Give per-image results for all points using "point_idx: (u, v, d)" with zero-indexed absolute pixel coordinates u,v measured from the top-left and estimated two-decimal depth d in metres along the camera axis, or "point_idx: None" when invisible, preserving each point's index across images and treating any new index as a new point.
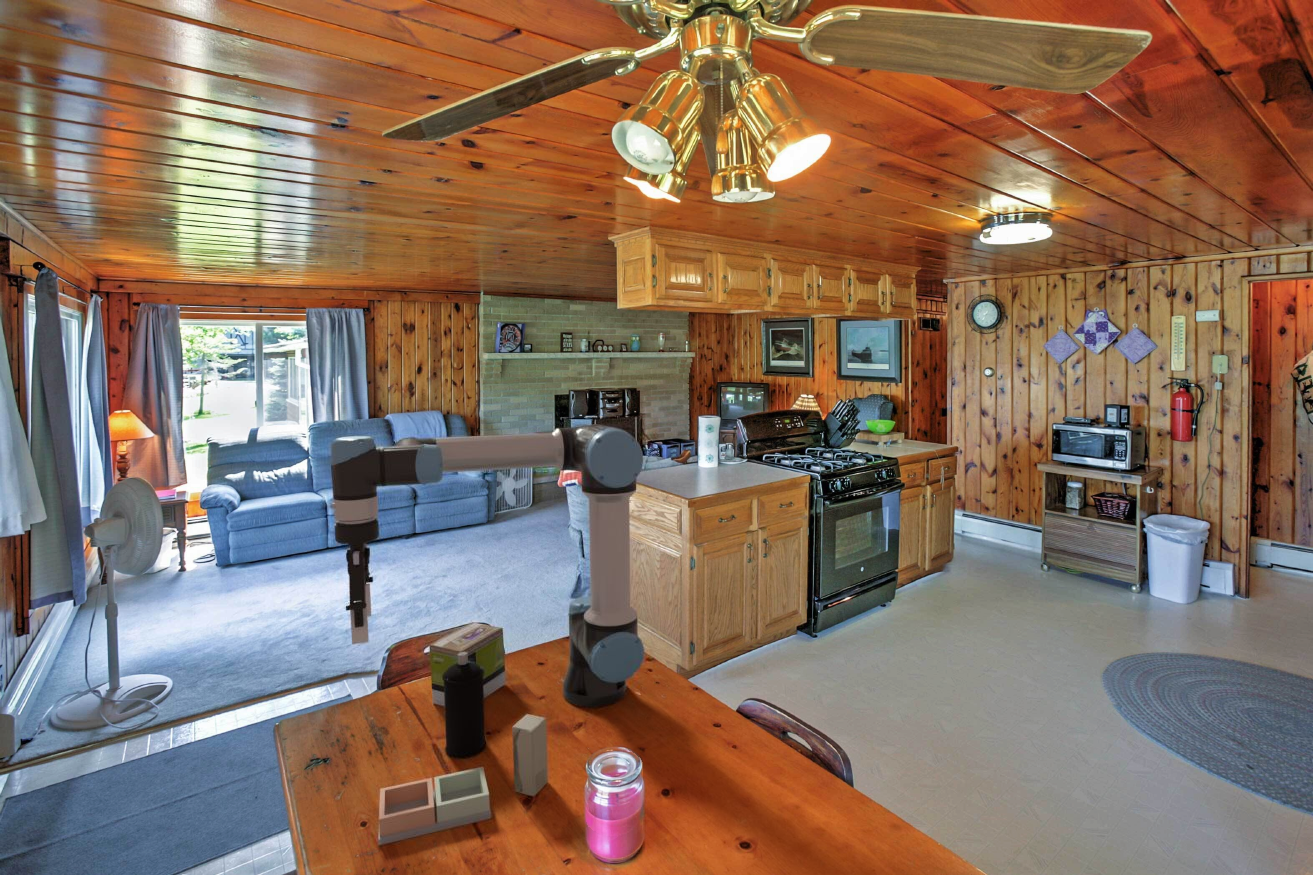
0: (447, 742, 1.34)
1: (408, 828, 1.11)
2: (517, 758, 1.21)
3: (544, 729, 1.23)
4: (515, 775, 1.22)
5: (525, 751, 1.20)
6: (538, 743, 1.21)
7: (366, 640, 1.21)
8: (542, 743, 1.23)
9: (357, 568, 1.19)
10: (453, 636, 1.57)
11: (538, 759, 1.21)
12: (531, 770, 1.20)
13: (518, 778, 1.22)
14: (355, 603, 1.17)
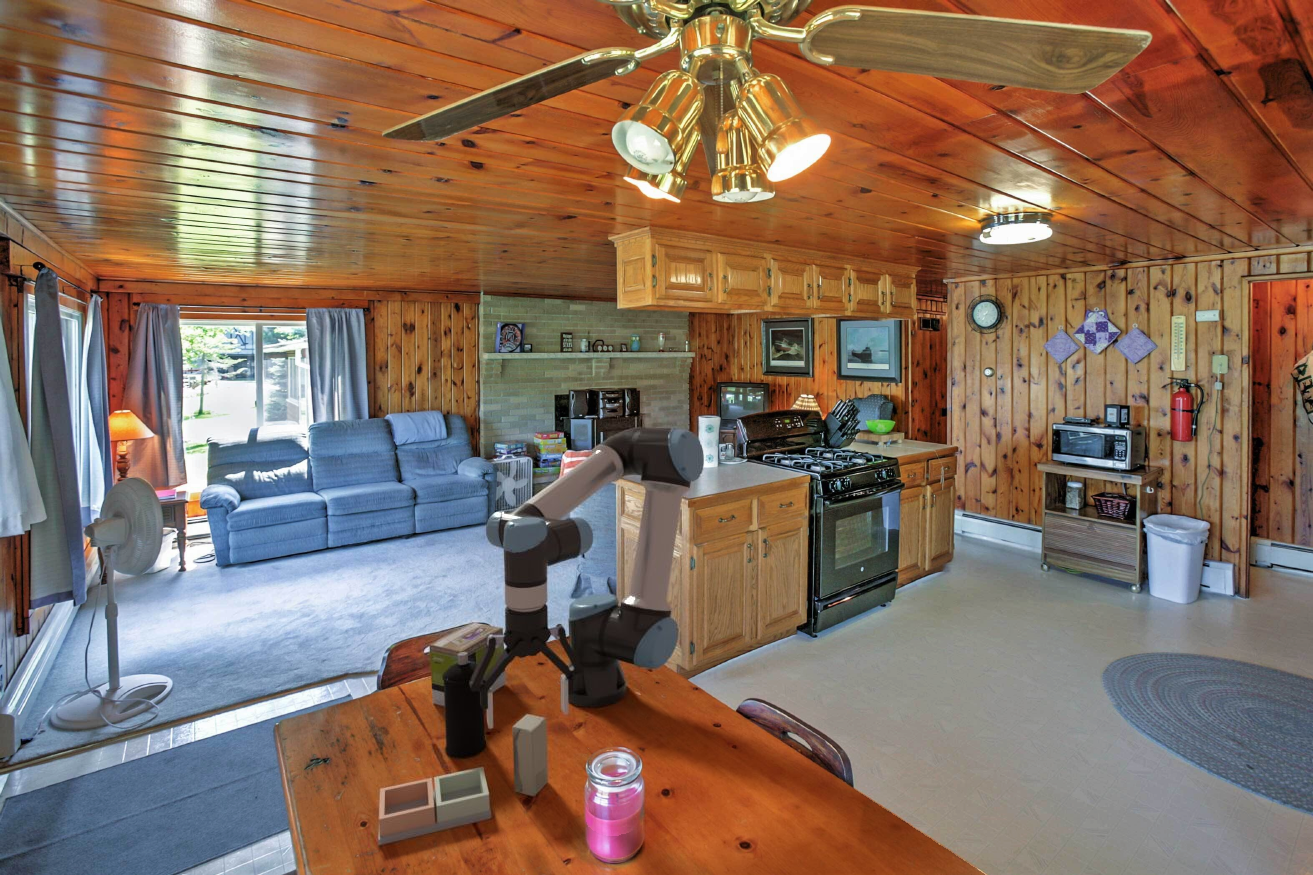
0: (447, 742, 1.34)
1: (408, 828, 1.11)
2: (517, 758, 1.21)
3: (544, 729, 1.23)
4: (515, 775, 1.22)
5: (525, 751, 1.20)
6: (538, 743, 1.21)
7: (488, 725, 1.18)
8: (542, 743, 1.23)
9: (486, 650, 1.18)
10: (453, 636, 1.57)
11: (538, 759, 1.22)
12: (531, 770, 1.20)
13: (518, 778, 1.22)
14: (471, 681, 1.18)
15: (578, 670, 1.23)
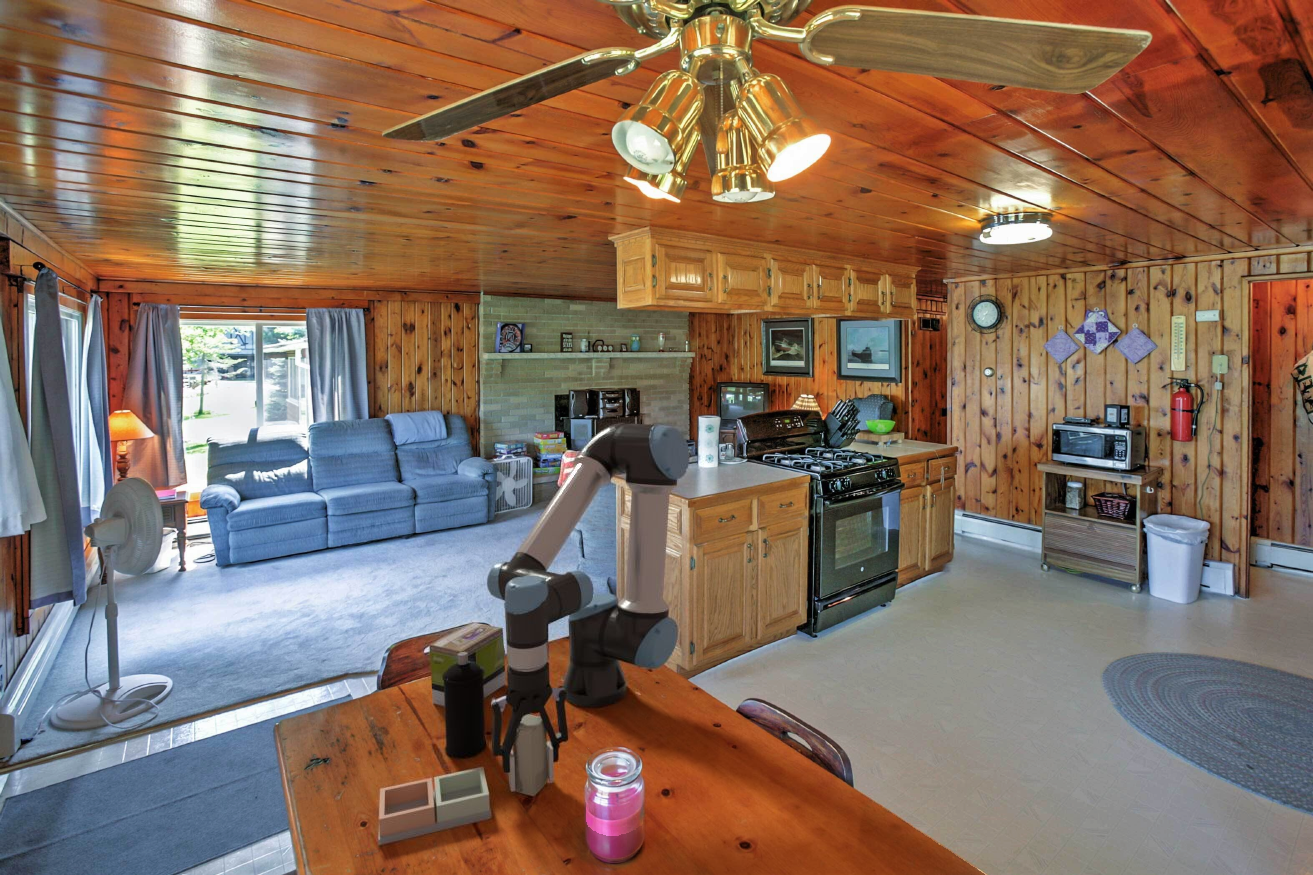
0: (447, 742, 1.34)
1: (408, 828, 1.11)
2: (517, 758, 1.21)
3: (544, 729, 1.23)
4: (515, 775, 1.22)
5: (525, 750, 1.20)
6: (538, 743, 1.21)
7: (510, 788, 1.21)
8: (542, 743, 1.23)
9: (494, 716, 1.20)
10: (453, 636, 1.57)
11: (538, 759, 1.21)
12: (531, 770, 1.20)
13: (518, 778, 1.21)
14: None
15: (563, 737, 1.24)
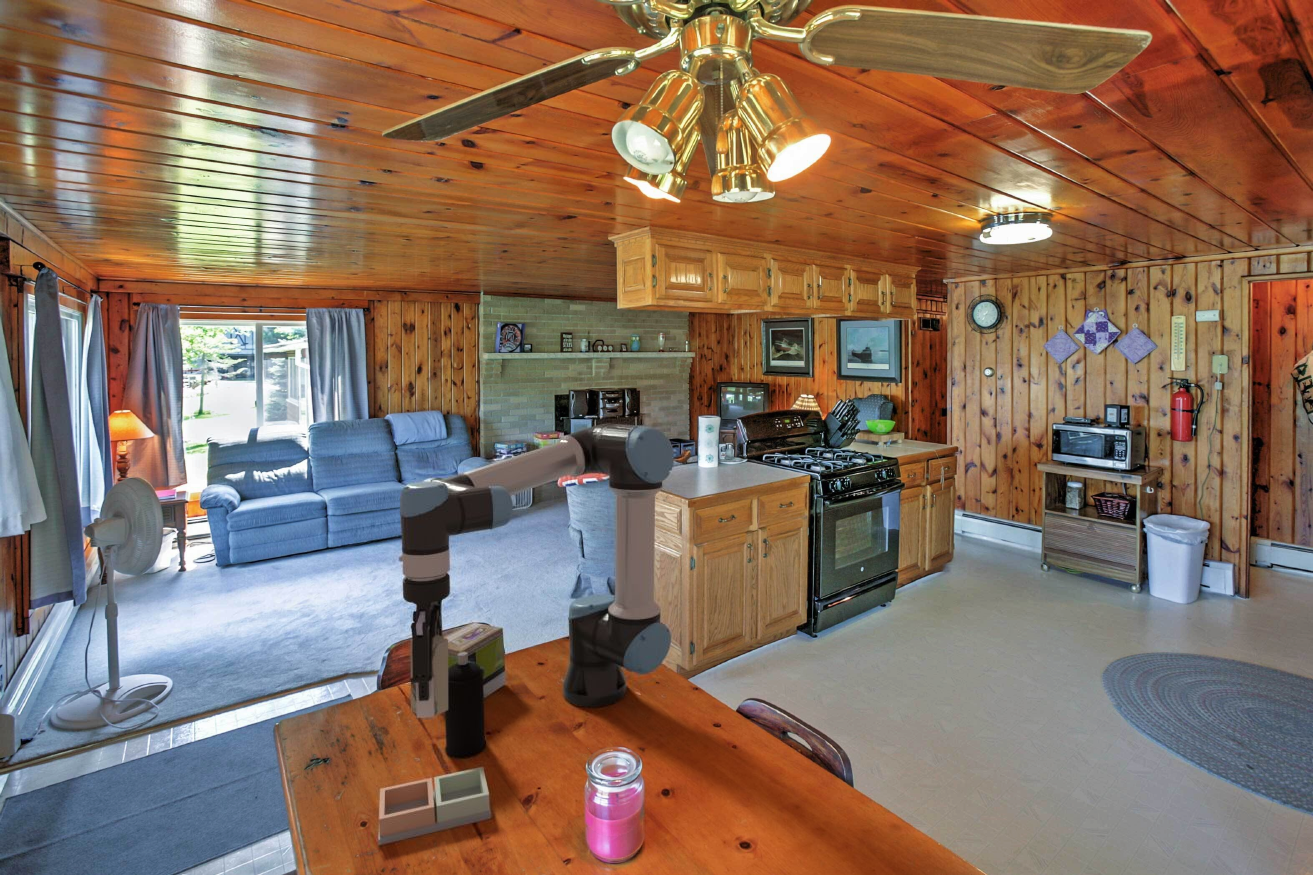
0: (447, 742, 1.34)
1: (408, 828, 1.11)
2: None
3: None
4: None
5: (442, 664, 1.13)
6: None
7: (431, 715, 1.11)
8: None
9: (421, 639, 1.07)
10: (453, 636, 1.57)
11: None
12: (447, 682, 1.14)
13: None
14: (418, 676, 1.07)
15: None
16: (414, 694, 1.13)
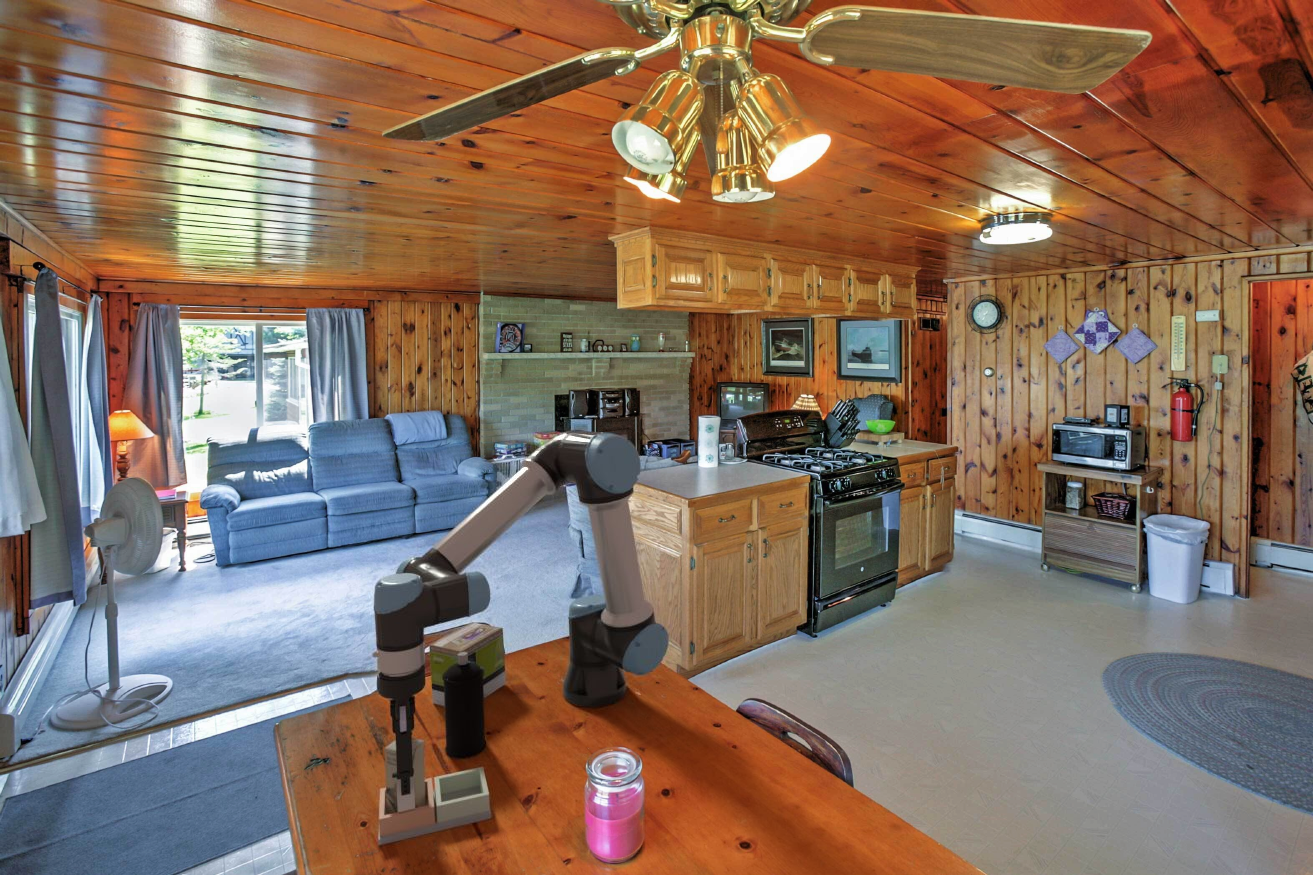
0: (447, 742, 1.34)
1: (408, 828, 1.11)
2: None
3: None
4: None
5: (420, 766, 1.14)
6: None
7: (413, 806, 1.11)
8: None
9: (404, 736, 1.07)
10: (453, 636, 1.57)
11: None
12: (424, 782, 1.15)
13: None
14: (403, 772, 1.07)
15: None
16: (391, 801, 1.13)
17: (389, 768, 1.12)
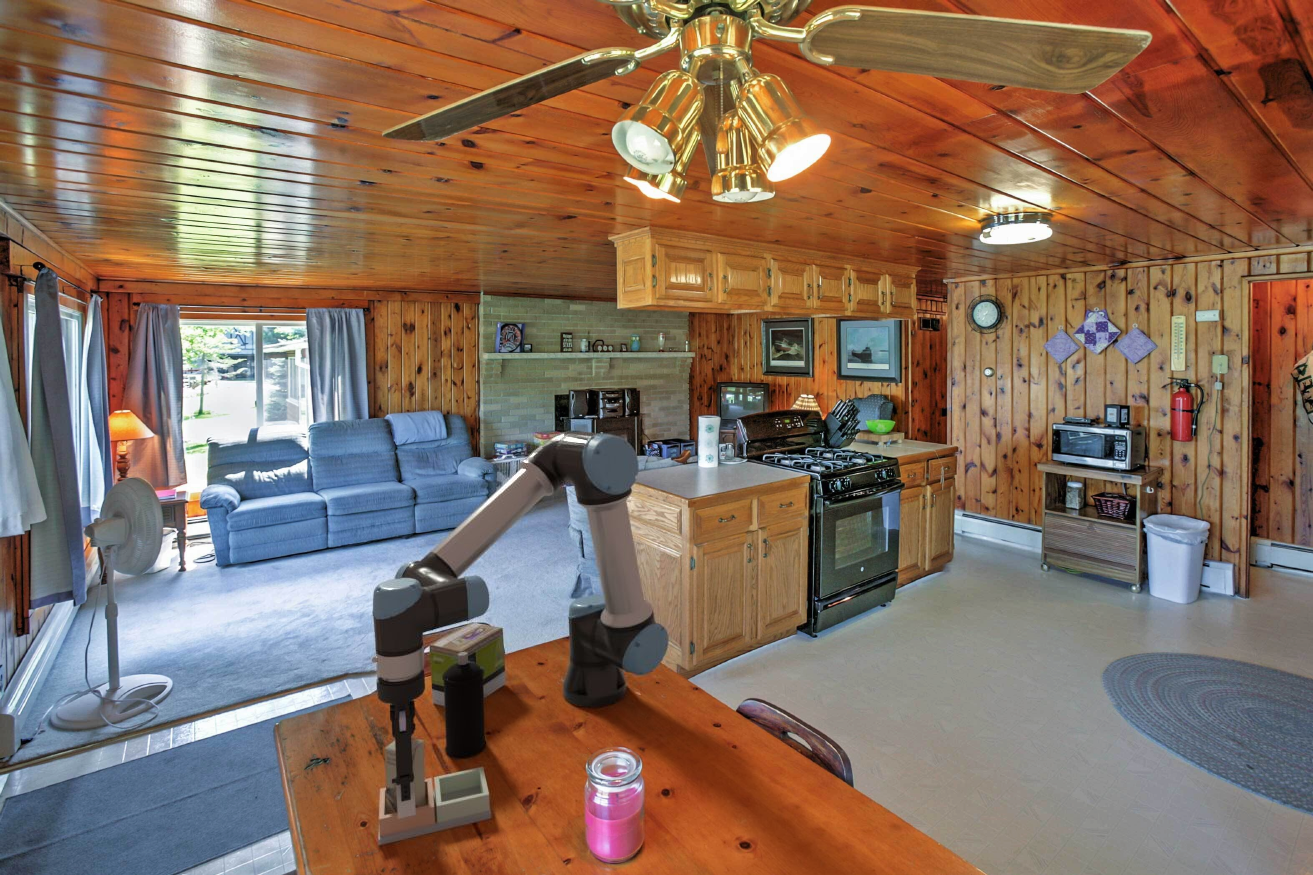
0: (447, 742, 1.34)
1: (408, 828, 1.11)
2: None
3: None
4: None
5: (420, 766, 1.14)
6: None
7: (413, 813, 1.08)
8: None
9: (404, 735, 1.06)
10: (453, 636, 1.57)
11: None
12: (424, 782, 1.15)
13: None
14: (402, 777, 1.04)
15: None
16: (391, 801, 1.13)
17: (389, 768, 1.12)
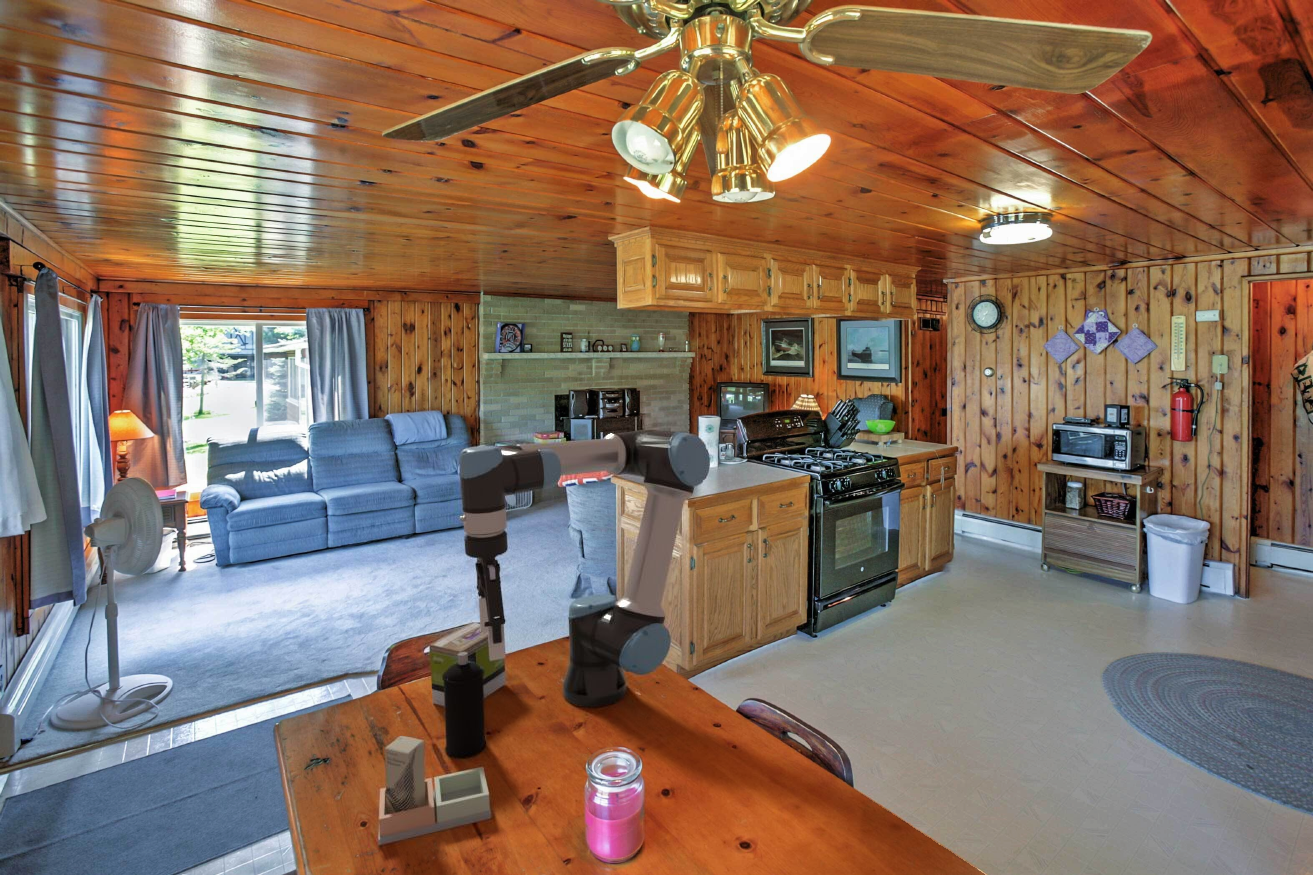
0: (447, 742, 1.34)
1: (408, 828, 1.11)
2: (413, 783, 1.12)
3: None
4: (411, 804, 1.12)
5: (420, 766, 1.14)
6: None
7: (503, 656, 1.17)
8: None
9: (494, 583, 1.15)
10: (453, 636, 1.57)
11: None
12: (424, 782, 1.15)
13: (414, 804, 1.13)
14: (495, 619, 1.14)
15: None
16: (391, 801, 1.13)
17: (389, 768, 1.12)
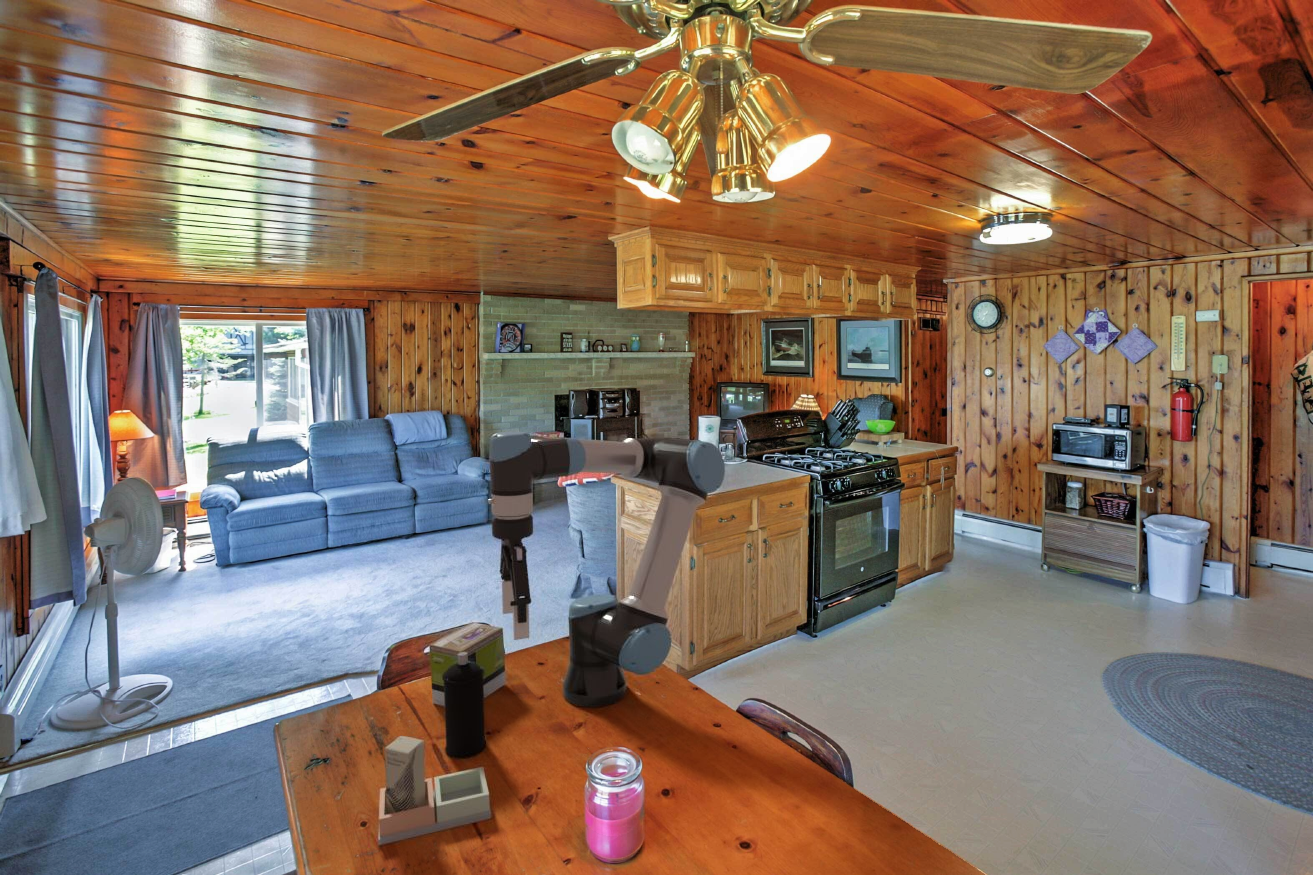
0: (447, 742, 1.34)
1: (408, 828, 1.11)
2: (413, 783, 1.12)
3: None
4: (411, 804, 1.12)
5: (420, 766, 1.14)
6: None
7: (527, 636, 1.20)
8: None
9: (521, 564, 1.19)
10: (453, 636, 1.57)
11: None
12: (424, 782, 1.15)
13: (414, 804, 1.13)
14: (521, 599, 1.17)
15: None
16: (391, 801, 1.13)
17: (389, 768, 1.12)
